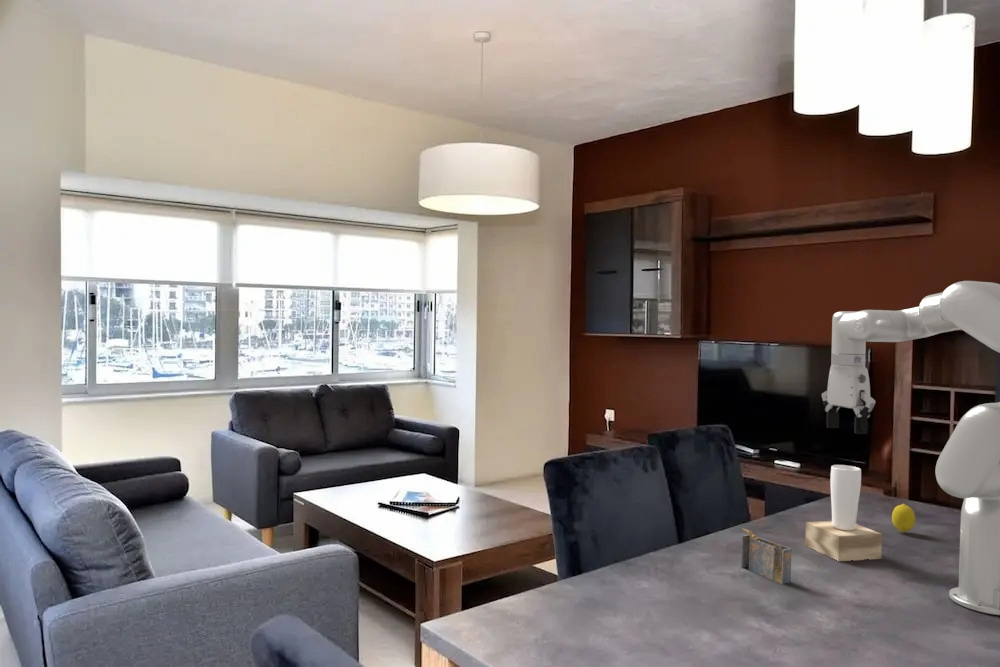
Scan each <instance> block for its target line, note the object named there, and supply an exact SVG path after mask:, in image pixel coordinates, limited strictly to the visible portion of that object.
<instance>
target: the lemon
mask: <svg viewBox="0 0 1000 667" xmlns="http://www.w3.org/2000/svg"><path fill="white" fill-rule="evenodd" d="M891 522H892V524H893V526H894V527H895V528H896V529H897V530H899V531H900V532H901V533H902V534H905V533H906V532H907V531H908V532H909V531H911V530H912V529H913V528H914V526H915V525H916V515H915V511H914V510H913V509H912V508H911V507H910V506H909V505H907V504H905V503H902V504H899V505H896V506H895V507H894V509H893V511H892V513H891Z"/></svg>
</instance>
